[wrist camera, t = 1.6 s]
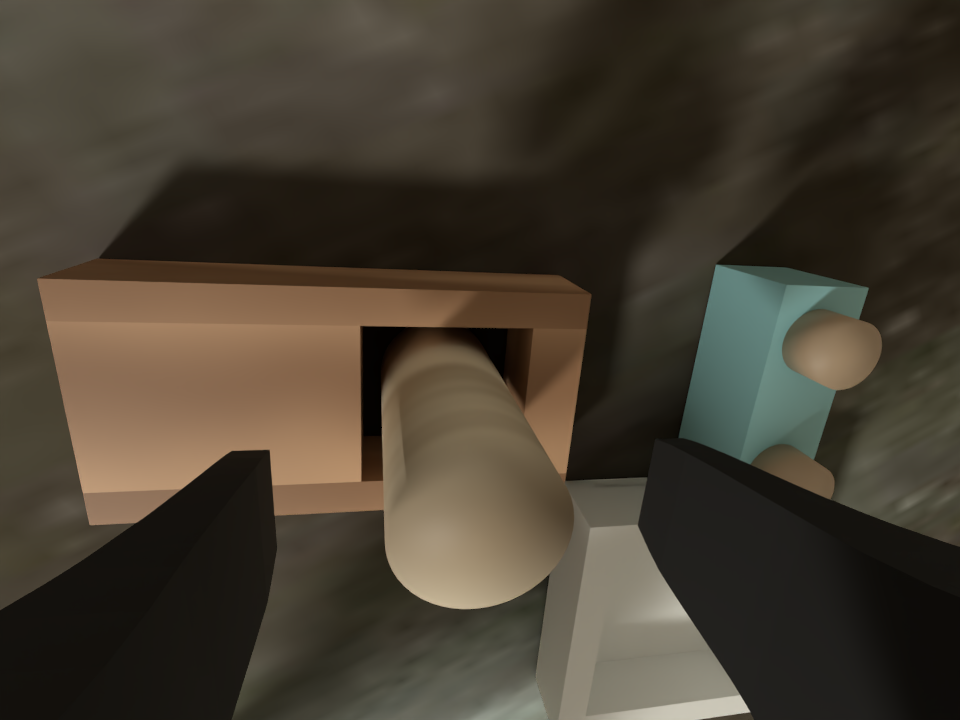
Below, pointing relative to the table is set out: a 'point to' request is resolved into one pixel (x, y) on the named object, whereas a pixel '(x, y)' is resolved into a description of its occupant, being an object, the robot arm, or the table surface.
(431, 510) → the dowel
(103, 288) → the rectangular frame
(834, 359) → the teal peg block
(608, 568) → the tray
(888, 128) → the table surface
